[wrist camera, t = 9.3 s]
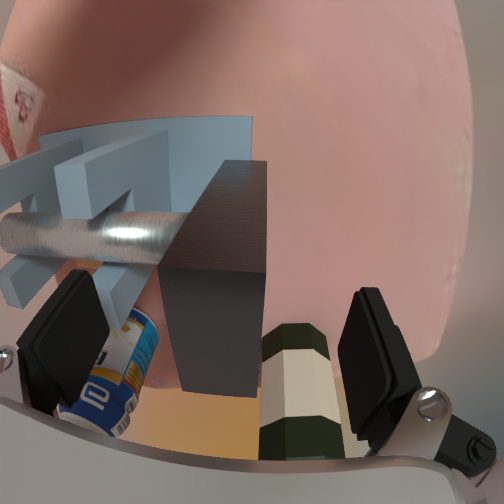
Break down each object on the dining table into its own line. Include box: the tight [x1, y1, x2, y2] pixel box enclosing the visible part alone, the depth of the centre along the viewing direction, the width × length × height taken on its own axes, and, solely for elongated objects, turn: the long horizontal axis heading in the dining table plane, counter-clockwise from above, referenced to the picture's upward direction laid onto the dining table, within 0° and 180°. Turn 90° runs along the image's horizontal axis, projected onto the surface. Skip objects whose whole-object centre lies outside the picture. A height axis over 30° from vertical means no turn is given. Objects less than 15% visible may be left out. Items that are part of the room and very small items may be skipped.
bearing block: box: [0, 116, 253, 329], centre depth 20 cm, size 22×12×14 cm, turn 88°
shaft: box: [0, 160, 267, 398], centre depth 16 cm, size 18×6×14 cm, turn 88°
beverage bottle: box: [59, 307, 159, 438], centre depth 27 cm, size 8×8×20 cm
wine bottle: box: [258, 323, 345, 461], centre depth 22 cm, size 8×8×30 cm
